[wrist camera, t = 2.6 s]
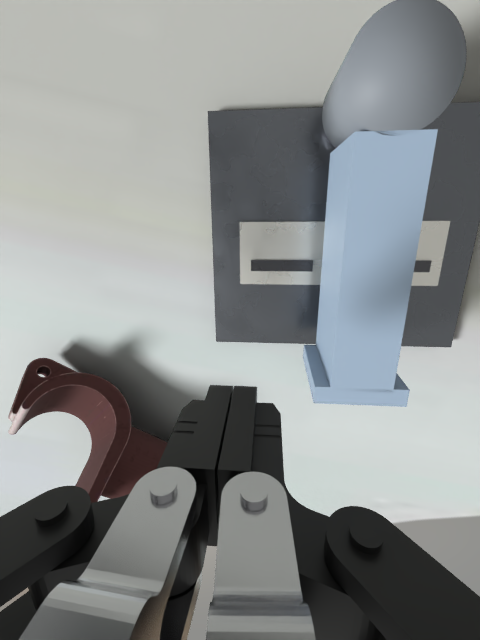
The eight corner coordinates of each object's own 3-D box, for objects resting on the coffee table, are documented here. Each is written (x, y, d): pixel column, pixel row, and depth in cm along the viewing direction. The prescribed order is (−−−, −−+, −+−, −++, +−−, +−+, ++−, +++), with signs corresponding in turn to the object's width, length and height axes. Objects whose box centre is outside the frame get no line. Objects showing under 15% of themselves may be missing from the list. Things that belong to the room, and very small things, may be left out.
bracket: (43, 340, 25) (-61, 470, 18) (219, 427, 31) (192, 553, 24) (29, 371, 29) (-62, 489, 22) (187, 444, 35) (156, 557, 28)
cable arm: (321, 64, 17) (345, 0, 12) (416, 59, 16) (485, -9, 11) (303, 357, 22) (313, 403, 17) (374, 359, 22) (406, 406, 17)
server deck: (210, 106, 21) (198, 87, 18) (497, 96, 20) (546, 73, 16) (218, 336, 27) (210, 356, 23) (444, 342, 25) (472, 363, 22)
